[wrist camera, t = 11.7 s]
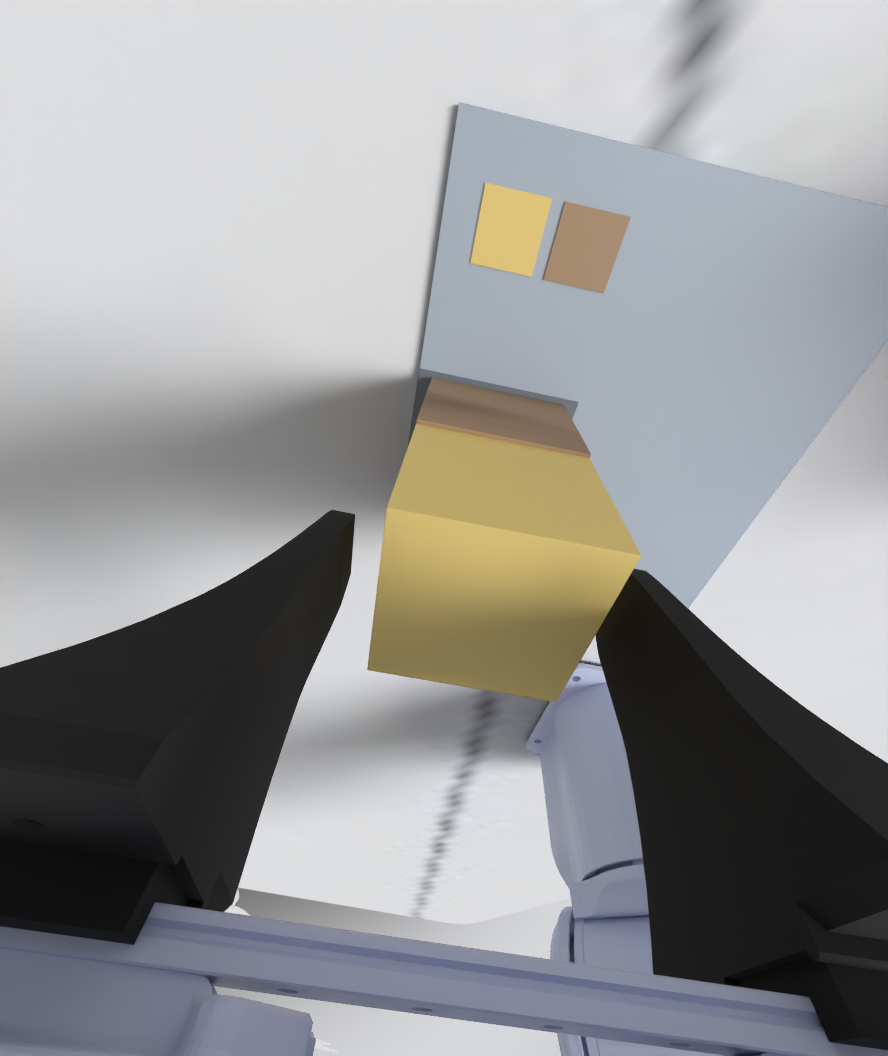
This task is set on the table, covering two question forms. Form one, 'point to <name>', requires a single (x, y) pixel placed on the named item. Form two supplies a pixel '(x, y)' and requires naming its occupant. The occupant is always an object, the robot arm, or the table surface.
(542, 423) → the walnut block
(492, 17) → the table surface
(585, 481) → the mustard block
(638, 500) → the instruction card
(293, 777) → the table surface
